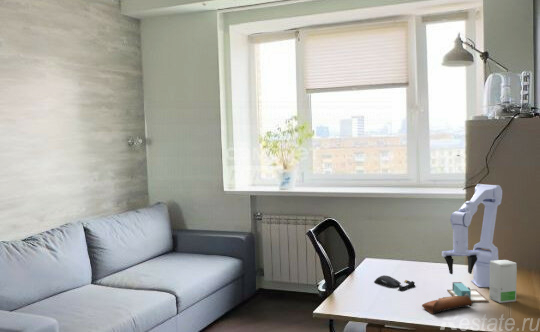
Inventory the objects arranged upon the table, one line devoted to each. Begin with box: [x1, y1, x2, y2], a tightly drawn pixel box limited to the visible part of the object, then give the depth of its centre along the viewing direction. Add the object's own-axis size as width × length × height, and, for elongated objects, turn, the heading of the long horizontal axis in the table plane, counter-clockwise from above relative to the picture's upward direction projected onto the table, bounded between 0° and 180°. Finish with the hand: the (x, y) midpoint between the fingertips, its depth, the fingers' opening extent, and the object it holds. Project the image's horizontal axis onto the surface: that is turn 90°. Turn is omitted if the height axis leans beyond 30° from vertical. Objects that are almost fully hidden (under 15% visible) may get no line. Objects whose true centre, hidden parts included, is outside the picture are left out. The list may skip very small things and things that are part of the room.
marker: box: [452, 281, 471, 299], centre depth 211 cm, size 15×4×4 cm, turn 178°
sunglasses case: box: [421, 295, 473, 315], centre depth 200 cm, size 18×7×7 cm
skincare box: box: [488, 259, 518, 304], centre depth 208 cm, size 8×7×16 cm
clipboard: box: [447, 286, 490, 303], centre depth 213 cm, size 14×12×2 cm
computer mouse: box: [373, 274, 416, 292], centre depth 232 cm, size 12×17×4 cm
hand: (460, 273), depth 213 cm, fingers open, 7 cm apart
